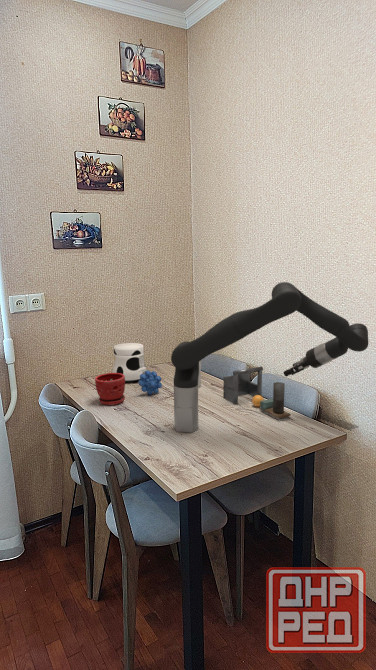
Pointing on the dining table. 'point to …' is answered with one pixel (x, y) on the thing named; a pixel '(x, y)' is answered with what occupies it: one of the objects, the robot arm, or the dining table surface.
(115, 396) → the plant pot
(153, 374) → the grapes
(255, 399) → the ball
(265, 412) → the rail
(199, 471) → the dining table surface
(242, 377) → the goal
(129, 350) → the milk container
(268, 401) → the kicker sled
